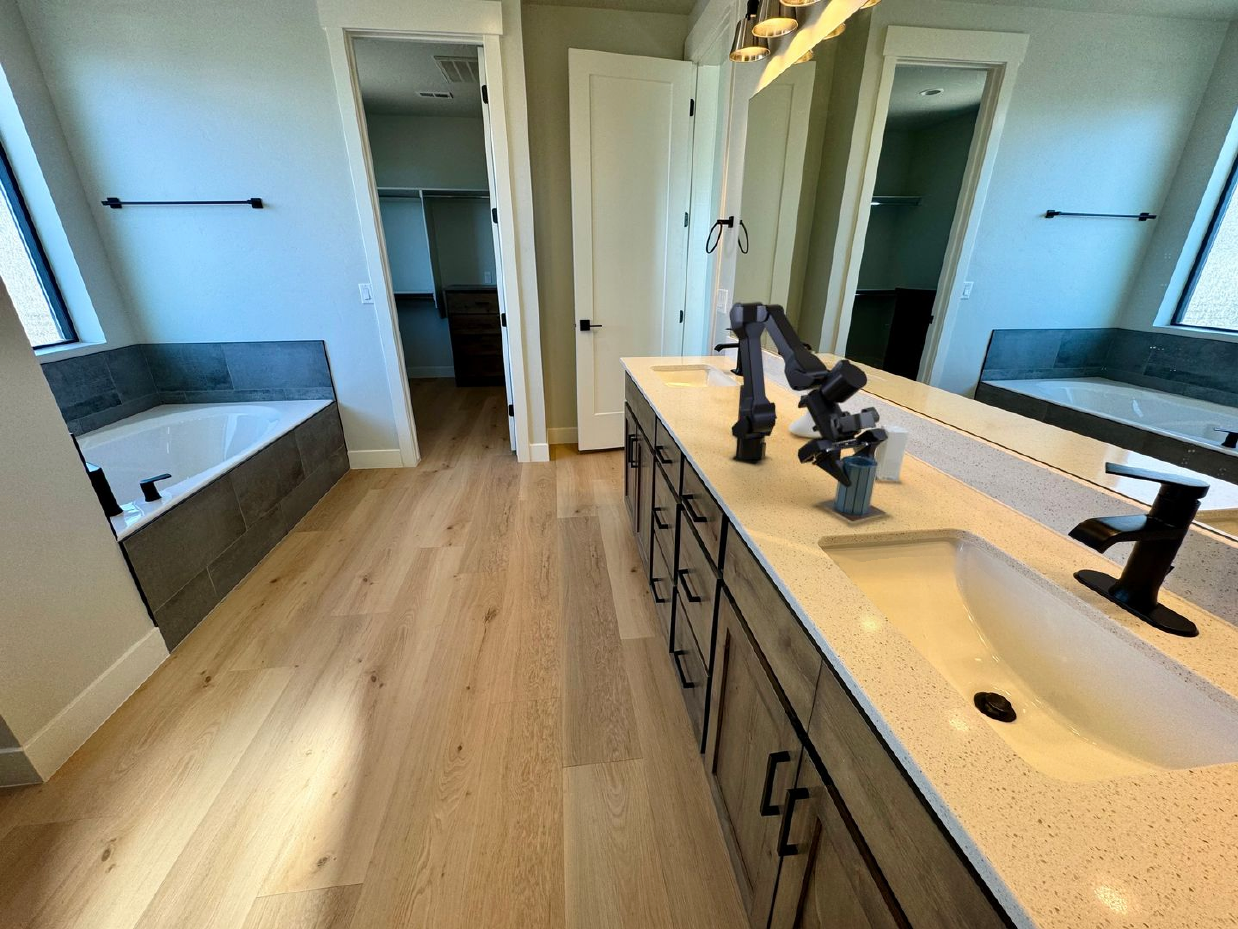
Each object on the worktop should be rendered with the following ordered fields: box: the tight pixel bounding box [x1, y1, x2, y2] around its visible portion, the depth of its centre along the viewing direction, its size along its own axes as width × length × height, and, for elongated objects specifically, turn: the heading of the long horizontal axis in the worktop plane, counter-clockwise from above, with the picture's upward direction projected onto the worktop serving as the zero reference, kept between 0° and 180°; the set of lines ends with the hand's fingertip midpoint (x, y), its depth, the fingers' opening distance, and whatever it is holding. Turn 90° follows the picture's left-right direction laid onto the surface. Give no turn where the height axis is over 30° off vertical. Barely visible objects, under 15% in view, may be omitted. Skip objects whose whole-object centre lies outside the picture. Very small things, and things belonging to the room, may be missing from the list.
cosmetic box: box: [875, 424, 909, 483], centre depth 113 cm, size 6×4×12 cm
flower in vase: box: [788, 350, 822, 438], centre depth 141 cm, size 13×11×25 cm
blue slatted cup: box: [834, 455, 878, 515], centre depth 97 cm, size 6×6×10 cm
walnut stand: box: [817, 498, 887, 523], centre depth 98 cm, size 9×9×6 cm
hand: (861, 483), depth 96 cm, fingers closed on blue slatted cup, 6 cm apart
